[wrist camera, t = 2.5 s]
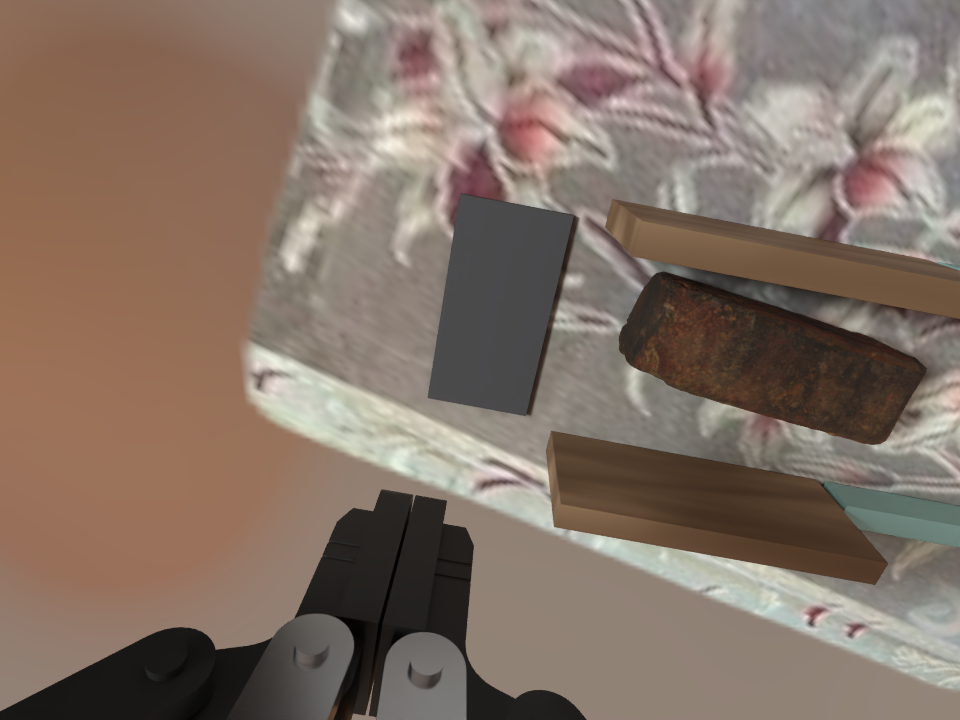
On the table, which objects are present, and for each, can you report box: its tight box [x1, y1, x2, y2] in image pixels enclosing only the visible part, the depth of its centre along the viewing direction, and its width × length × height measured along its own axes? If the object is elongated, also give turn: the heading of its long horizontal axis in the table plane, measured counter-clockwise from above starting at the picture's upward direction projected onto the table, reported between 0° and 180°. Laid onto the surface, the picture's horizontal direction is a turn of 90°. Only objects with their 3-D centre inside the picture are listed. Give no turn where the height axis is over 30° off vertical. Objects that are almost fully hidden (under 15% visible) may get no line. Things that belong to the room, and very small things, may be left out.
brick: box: [619, 272, 927, 445], centre depth 23 cm, size 11×4×5 cm, turn 73°
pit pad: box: [428, 193, 574, 416], centre depth 26 cm, size 10×5×1 cm, turn 170°
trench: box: [546, 199, 960, 585], centre depth 24 cm, size 13×14×6 cm
